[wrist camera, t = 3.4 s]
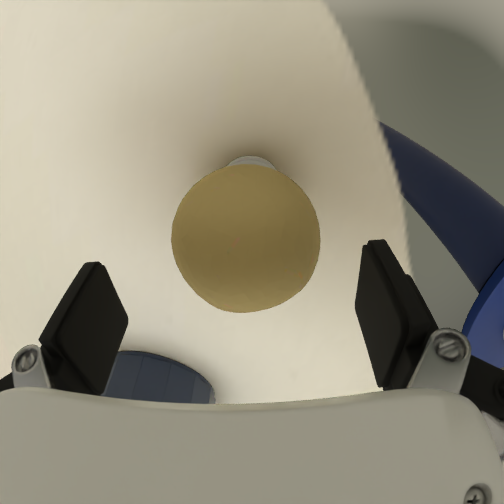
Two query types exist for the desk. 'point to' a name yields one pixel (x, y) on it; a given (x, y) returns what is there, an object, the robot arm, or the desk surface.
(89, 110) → the desk surface
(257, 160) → the light bulb
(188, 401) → the pot
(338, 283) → the desk surface
